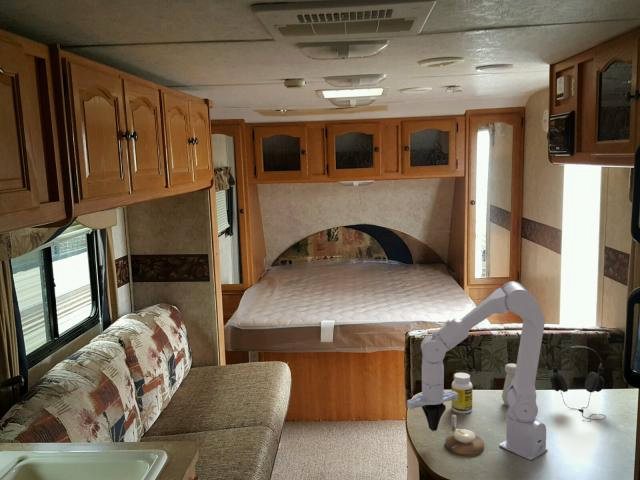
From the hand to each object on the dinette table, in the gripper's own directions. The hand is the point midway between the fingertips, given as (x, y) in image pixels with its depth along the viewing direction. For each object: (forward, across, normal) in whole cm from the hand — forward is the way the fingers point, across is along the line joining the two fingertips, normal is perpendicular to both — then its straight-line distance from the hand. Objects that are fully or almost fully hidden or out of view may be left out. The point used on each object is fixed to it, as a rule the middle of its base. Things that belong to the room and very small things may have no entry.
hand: (432, 429), depth 147 cm
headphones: (+4, -49, +1) cm, 49 cm away
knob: (+2, -7, +3) cm, 8 cm away
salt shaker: (+4, -35, -11) cm, 37 cm away
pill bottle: (+5, -19, -14) cm, 24 cm away
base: (+4, -7, +4) cm, 9 cm away
